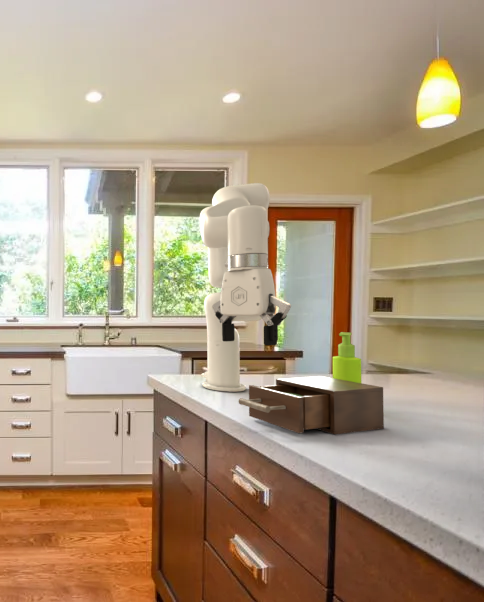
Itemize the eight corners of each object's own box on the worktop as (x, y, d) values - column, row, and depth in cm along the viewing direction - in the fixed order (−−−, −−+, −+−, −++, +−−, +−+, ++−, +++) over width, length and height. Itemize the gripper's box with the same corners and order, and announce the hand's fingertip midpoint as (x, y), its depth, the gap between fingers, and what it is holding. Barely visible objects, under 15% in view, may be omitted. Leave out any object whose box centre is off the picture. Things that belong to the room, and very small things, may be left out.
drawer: (277, 436, 74) (277, 399, 74) (229, 418, 86) (229, 386, 86) (347, 427, 79) (347, 393, 79) (293, 411, 91) (292, 382, 91)
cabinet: (334, 434, 77) (334, 391, 77) (276, 416, 90) (275, 379, 90) (383, 428, 81) (383, 387, 81) (321, 411, 94) (320, 375, 94)
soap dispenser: (330, 407, 98) (329, 332, 98) (335, 402, 103) (334, 331, 103) (359, 412, 94) (358, 333, 94) (363, 407, 98) (362, 332, 98)
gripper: (202, 267, 86) (202, 340, 86) (276, 258, 71) (277, 347, 70) (224, 269, 89) (225, 339, 89) (300, 260, 74) (301, 346, 73)
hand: (248, 342), depth 80 cm, fingers open, 9 cm apart
